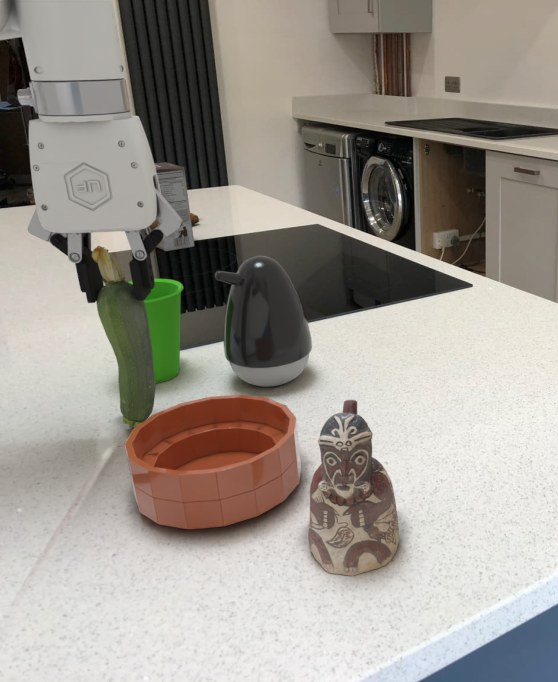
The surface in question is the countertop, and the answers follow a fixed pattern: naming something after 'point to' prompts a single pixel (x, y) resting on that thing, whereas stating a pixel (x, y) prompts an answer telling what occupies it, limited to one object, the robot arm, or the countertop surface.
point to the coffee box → (174, 206)
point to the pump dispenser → (264, 324)
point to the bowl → (214, 461)
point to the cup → (165, 327)
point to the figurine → (351, 499)
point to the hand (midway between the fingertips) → (120, 295)
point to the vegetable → (127, 339)
